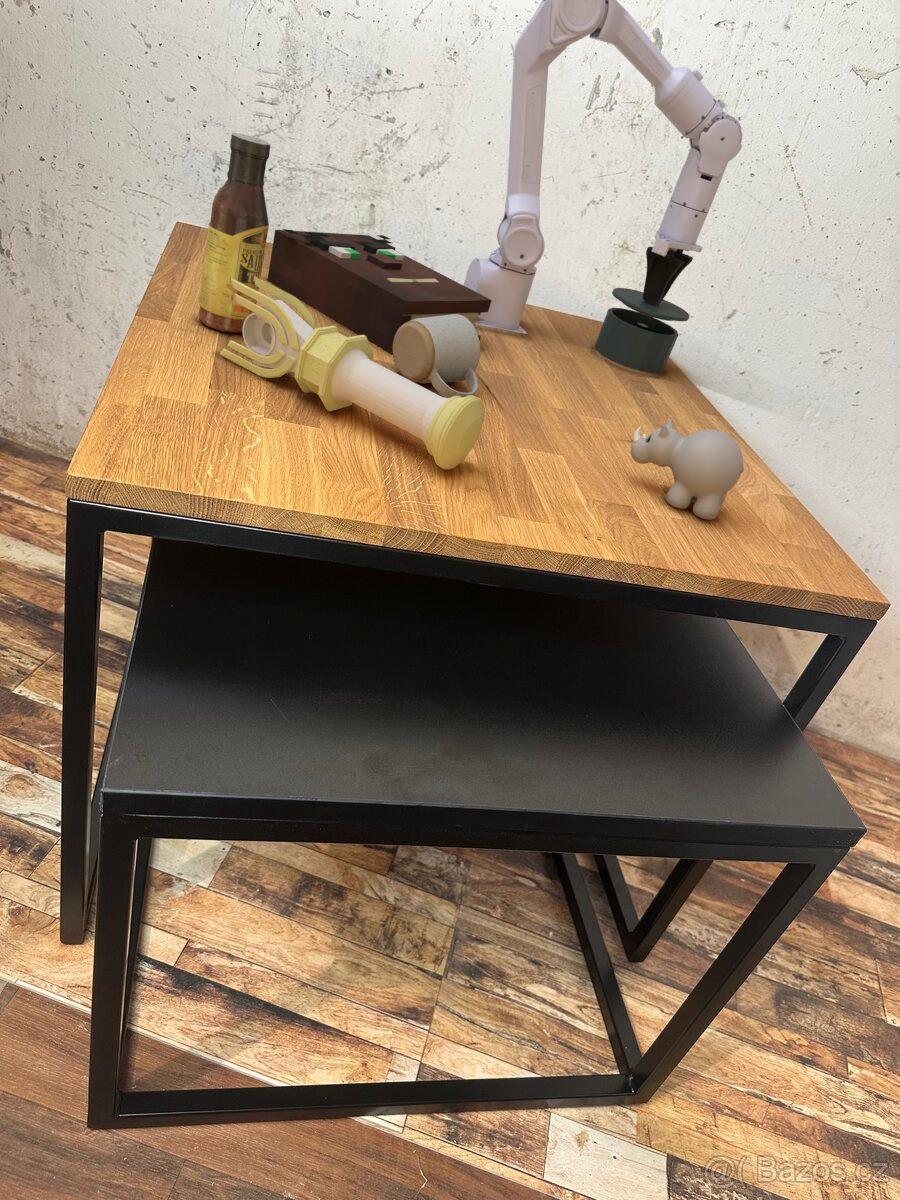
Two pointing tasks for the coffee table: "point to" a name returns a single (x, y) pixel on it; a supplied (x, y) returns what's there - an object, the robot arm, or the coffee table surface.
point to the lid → (650, 305)
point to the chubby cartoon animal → (693, 465)
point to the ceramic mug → (438, 352)
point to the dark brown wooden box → (366, 283)
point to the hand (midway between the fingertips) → (651, 300)
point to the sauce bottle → (235, 236)
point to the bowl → (636, 340)
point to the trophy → (350, 374)
